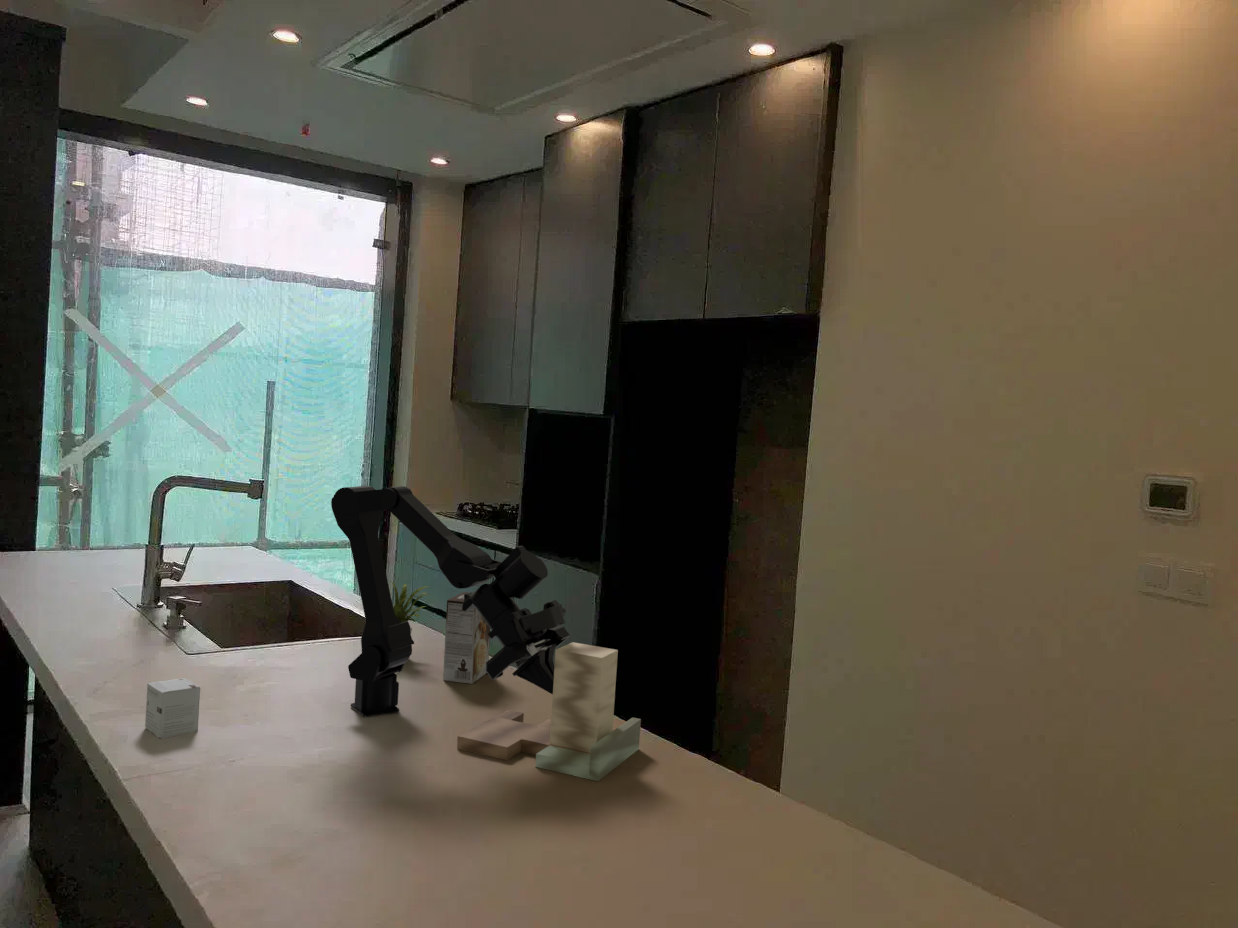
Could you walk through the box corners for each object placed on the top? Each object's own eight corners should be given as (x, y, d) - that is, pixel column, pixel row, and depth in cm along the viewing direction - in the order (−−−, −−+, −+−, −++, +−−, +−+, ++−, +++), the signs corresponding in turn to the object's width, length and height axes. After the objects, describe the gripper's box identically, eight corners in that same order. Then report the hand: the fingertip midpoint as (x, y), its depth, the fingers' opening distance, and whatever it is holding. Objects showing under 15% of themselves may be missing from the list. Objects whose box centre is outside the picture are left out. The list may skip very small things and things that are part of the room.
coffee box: (458, 668, 199) (463, 590, 198) (488, 672, 198) (493, 594, 197) (441, 680, 190) (446, 599, 189) (473, 684, 189) (477, 602, 188)
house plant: (446, 654, 209) (450, 579, 208) (412, 669, 196) (416, 589, 195) (388, 645, 214) (392, 571, 213) (351, 659, 201) (355, 581, 200)
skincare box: (144, 728, 154) (146, 682, 153) (183, 721, 158) (184, 676, 158) (159, 739, 150) (161, 692, 149) (199, 731, 154) (201, 685, 154)
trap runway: (457, 748, 154) (458, 717, 154) (507, 721, 169) (509, 692, 168) (597, 781, 144) (600, 748, 144) (638, 749, 159) (640, 719, 159)
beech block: (549, 743, 153) (555, 649, 152) (566, 733, 159) (572, 642, 158) (595, 754, 150) (602, 657, 149) (611, 742, 155) (617, 649, 154)
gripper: (507, 594, 148) (567, 678, 144) (562, 578, 165) (618, 652, 161) (460, 637, 152) (518, 720, 148) (519, 617, 169) (572, 691, 165)
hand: (559, 694), depth 156 cm, fingers closed, pressing on beech block
